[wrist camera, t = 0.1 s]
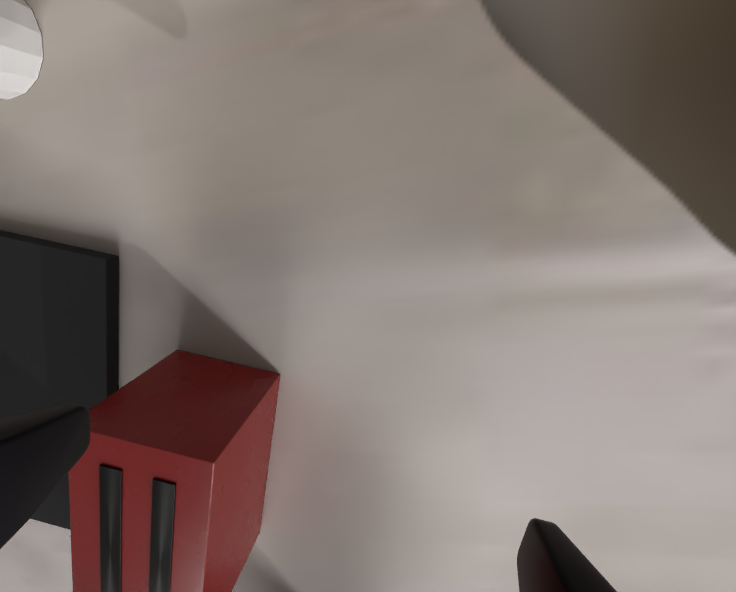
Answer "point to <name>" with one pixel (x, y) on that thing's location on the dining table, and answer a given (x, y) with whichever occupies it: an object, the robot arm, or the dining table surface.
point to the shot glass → (18, 48)
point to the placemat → (56, 335)
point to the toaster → (173, 478)
